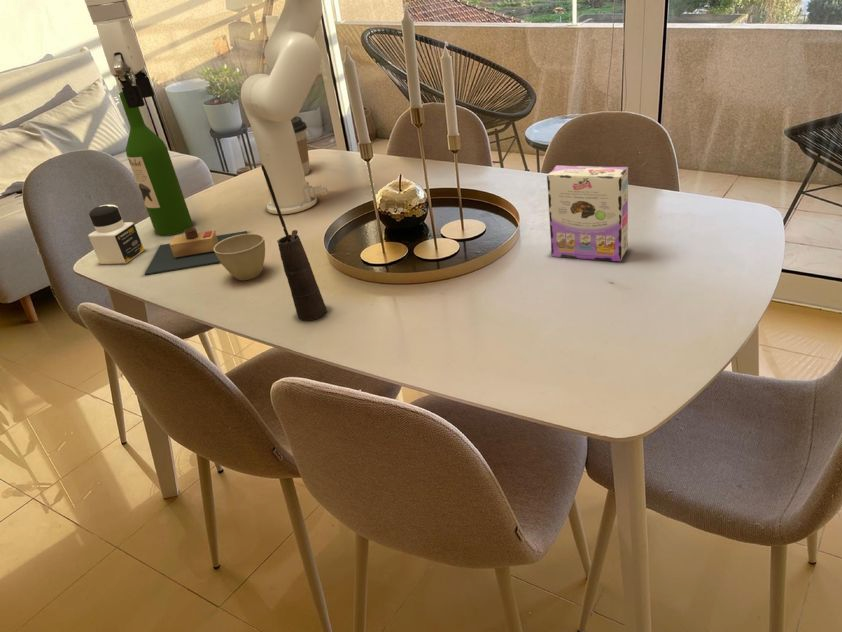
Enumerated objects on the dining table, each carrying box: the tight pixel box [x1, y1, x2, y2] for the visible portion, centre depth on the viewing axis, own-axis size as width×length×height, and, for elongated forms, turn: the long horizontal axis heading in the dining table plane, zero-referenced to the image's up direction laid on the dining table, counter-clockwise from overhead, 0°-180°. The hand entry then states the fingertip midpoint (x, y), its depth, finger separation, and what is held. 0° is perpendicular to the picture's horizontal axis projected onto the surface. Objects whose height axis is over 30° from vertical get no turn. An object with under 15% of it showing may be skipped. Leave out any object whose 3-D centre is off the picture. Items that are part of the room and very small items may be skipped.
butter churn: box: [261, 164, 328, 322], centre depth 118 cm, size 9×10×28 cm
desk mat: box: [144, 230, 248, 276], centre depth 156 cm, size 20×16×1 cm
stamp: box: [169, 226, 218, 259], centre depth 154 cm, size 9×5×5 cm, turn 99°
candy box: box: [546, 165, 629, 262], centre depth 129 cm, size 14×6×16 cm, turn 65°
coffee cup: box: [291, 115, 311, 176], centre depth 195 cm, size 11×11×15 cm
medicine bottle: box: [87, 204, 145, 265], centre depth 155 cm, size 7×7×12 cm
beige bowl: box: [214, 233, 266, 281], centre depth 141 cm, size 10×10×7 cm
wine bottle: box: [118, 91, 193, 237], centre depth 163 cm, size 9×9×32 cm
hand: (142, 101), depth 147 cm, fingers open, 9 cm apart
